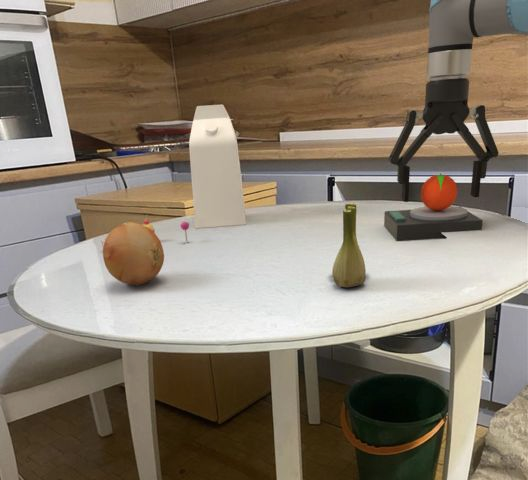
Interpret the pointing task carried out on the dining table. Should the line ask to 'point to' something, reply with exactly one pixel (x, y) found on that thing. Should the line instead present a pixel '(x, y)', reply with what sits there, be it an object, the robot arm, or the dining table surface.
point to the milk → (215, 169)
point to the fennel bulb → (349, 253)
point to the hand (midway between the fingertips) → (439, 198)
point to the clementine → (439, 192)
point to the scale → (429, 222)
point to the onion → (133, 253)
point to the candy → (146, 223)
